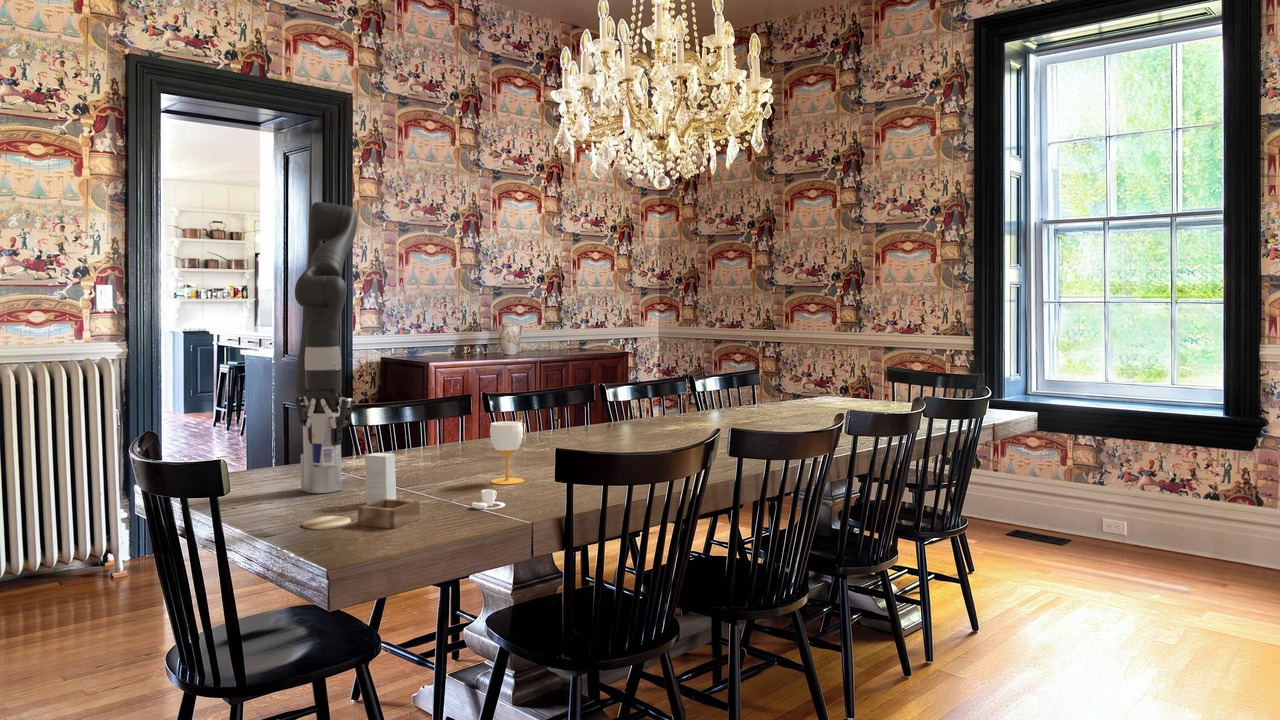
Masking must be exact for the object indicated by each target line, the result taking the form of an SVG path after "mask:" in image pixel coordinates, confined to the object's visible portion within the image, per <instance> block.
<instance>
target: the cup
mask: <svg viewBox="0 0 1280 720" xmlns="http://www.w3.org/2000/svg"><path fill="white" fill-rule="evenodd" d="M489 426H490V427H489V435H490V439H491V443H492V446H493V447H494V450H496V451H497V452H498V453H499V454H500V455H503V456H504V457H505V477H501V478H494V479H492V480H490V483H491V484H493V485H499V486H503V485H504V486H509V485H510V486H511V485H518V484H522V483H524V481H525V480H524V479H523V478H519V477H509V476H510V475H509V474H510V473H509V471H510V470H509V468H510V467H509V464H510V462H509V457H510V456H511V455H513V454H515V453H516V452H517V451H518V449H519V448H520V446H521V443H522V440H523V436H524V435H523V434H524V428H523V422H521V421H516V420H515V421H513V420H510V421H509V420H508V421H507V420H505V421H495V422H491V423H490V425H489Z"/></svg>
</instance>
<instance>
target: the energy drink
mask: <svg viewBox="0 0 1280 720" xmlns="http://www.w3.org/2000/svg"><path fill="white" fill-rule="evenodd" d="M335 413H336V412H334V413H333V414H335ZM311 419H312V453H313V467H314V468H321V469H322V468H333V467H337V466H338V464H339V461H338V445H336V446H334V445H332V436H331V429H333V428H332V425H331V423H330V419H328V418H327V416H326V413H320V414H317V413H313V414H312V417H311ZM335 419H336V417H335Z"/></svg>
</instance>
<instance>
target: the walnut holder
mask: <svg viewBox="0 0 1280 720" xmlns="http://www.w3.org/2000/svg"><path fill="white" fill-rule="evenodd" d="M420 514H421V512H420V501H419V500H407V499H397V498H396V499H381V500H378V501H375V502H372V503H369V504H367V503H366V504H363V505H360V506H357V518H358V519H357V520H358V521H357V522H358V523H357V524H358V526H364V527H375V528H384V529H386V528H387V529H397V528H400V527H402V526H404V525H407V524H410V523H413V522H416V521H418V520H420V517H421V516H420Z"/></svg>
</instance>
